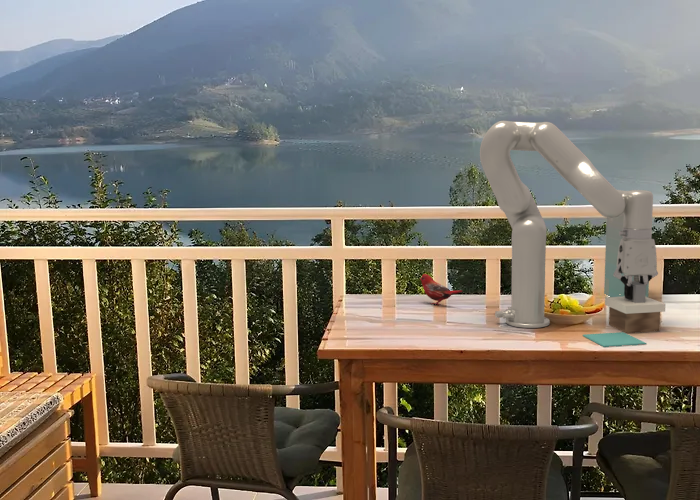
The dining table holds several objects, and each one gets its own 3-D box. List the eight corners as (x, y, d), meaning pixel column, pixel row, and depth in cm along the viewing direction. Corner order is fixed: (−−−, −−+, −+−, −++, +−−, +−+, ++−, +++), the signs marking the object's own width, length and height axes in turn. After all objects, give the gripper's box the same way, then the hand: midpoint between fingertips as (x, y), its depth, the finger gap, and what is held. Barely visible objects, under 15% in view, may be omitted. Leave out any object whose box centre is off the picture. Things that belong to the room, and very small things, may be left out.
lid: (625, 313, 216) (626, 288, 215) (604, 304, 227) (605, 280, 226) (665, 311, 218) (666, 286, 217) (642, 302, 229) (643, 278, 228)
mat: (603, 347, 204) (603, 345, 204) (582, 335, 215) (582, 334, 215) (646, 344, 206) (646, 343, 206) (623, 333, 217) (623, 332, 217)
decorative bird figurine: (422, 301, 263) (422, 272, 261) (465, 309, 251) (465, 278, 249) (416, 303, 261) (416, 273, 259) (460, 310, 249) (460, 279, 247)
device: (648, 303, 255) (652, 212, 250) (625, 304, 254) (629, 212, 249) (625, 293, 271) (628, 207, 266) (603, 294, 270) (606, 208, 266)
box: (626, 333, 217) (627, 308, 216) (608, 324, 227) (609, 301, 226) (659, 331, 219) (660, 306, 218) (640, 323, 229) (641, 299, 228)
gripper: (616, 237, 214) (614, 302, 217) (671, 234, 217) (668, 299, 220) (603, 233, 222) (601, 297, 224) (656, 231, 224) (654, 294, 227)
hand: (634, 298), depth 222 cm, fingers closed on lid, 3 cm apart
